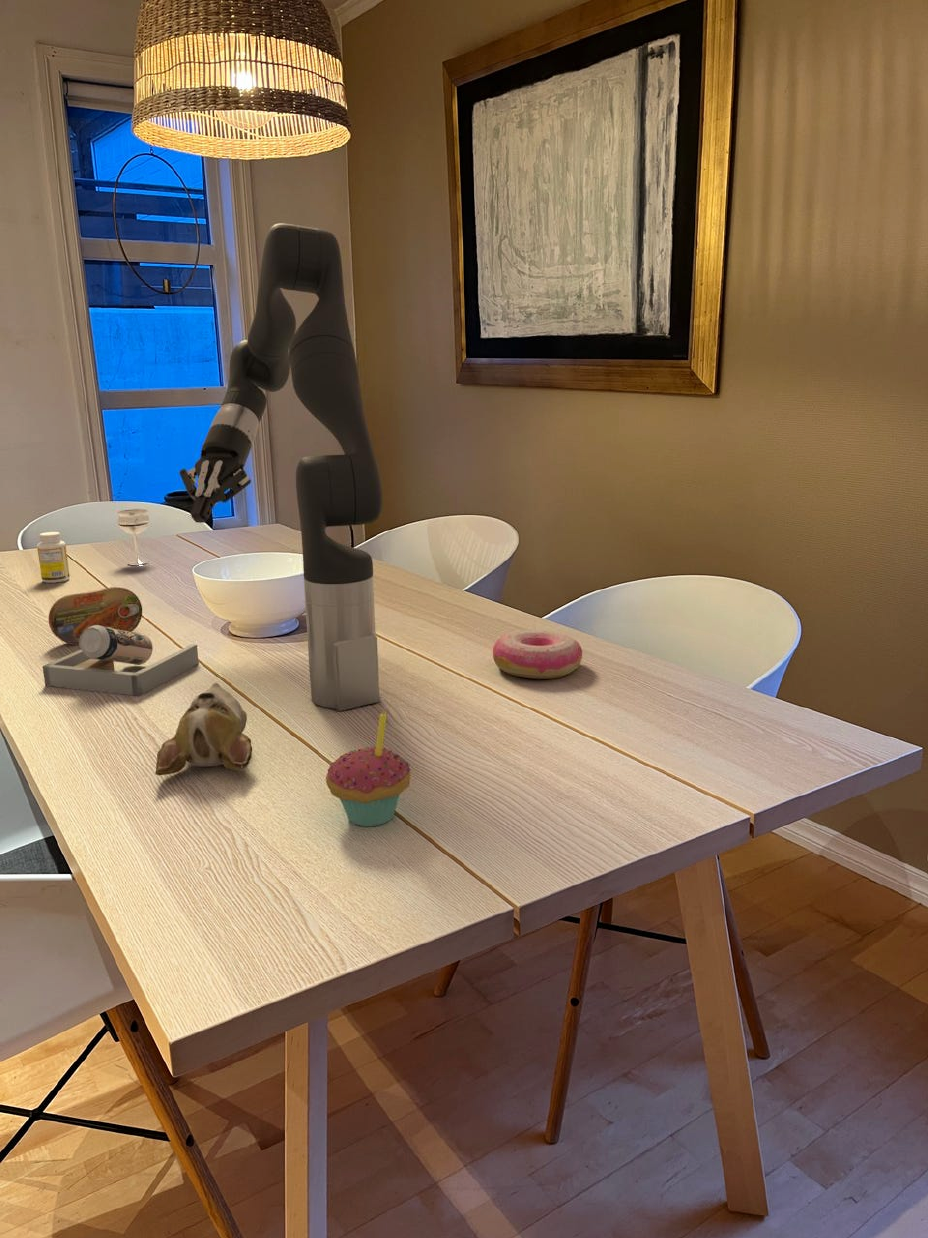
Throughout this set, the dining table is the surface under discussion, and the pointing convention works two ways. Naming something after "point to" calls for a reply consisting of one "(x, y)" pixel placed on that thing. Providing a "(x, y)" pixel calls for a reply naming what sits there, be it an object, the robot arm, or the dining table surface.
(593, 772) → the dining table surface
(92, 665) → the tan wooden block
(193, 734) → the ceramic sculpture
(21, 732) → the dining table surface
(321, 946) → the dining table surface
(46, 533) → the supplement bottle
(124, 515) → the wineglass
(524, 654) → the donut
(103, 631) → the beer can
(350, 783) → the cupcake
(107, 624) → the tin
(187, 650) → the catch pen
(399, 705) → the dining table surface
